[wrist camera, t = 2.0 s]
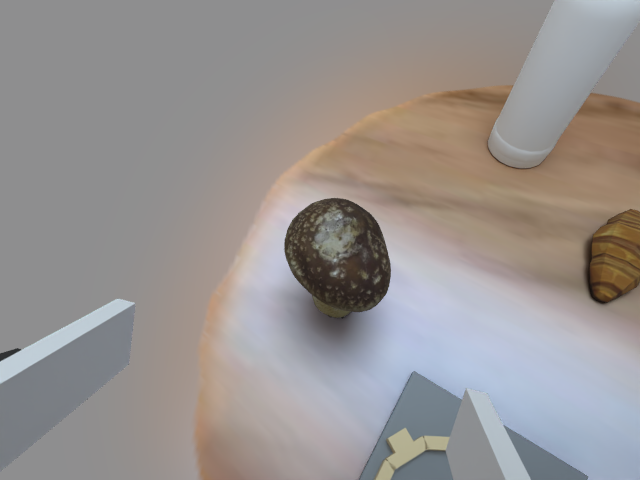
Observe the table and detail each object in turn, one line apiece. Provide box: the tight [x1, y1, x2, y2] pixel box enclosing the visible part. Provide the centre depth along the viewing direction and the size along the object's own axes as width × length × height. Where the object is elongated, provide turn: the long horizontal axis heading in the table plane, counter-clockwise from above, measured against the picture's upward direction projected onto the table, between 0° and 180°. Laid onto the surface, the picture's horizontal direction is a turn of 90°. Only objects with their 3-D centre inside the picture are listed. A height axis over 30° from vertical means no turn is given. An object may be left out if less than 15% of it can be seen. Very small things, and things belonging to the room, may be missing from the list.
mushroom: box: [285, 198, 391, 318], centre depth 35 cm, size 9×9×15 cm
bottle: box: [488, 0, 640, 168], centre depth 40 cm, size 8×8×30 cm
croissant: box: [589, 209, 640, 303], centre depth 42 cm, size 14×7×5 cm, turn 144°
